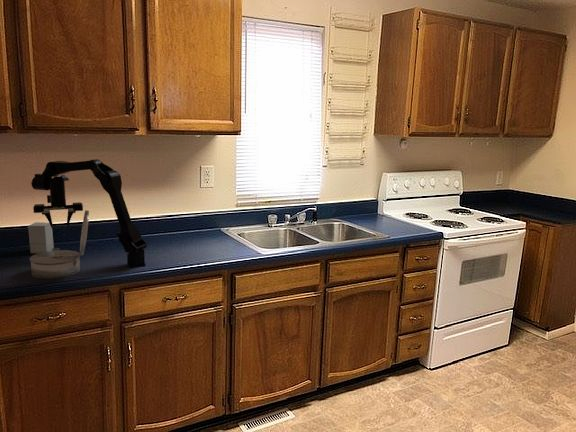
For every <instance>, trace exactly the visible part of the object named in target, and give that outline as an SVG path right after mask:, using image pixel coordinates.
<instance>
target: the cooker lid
mask: <svg viewBox="0 0 576 432" xmlns="http://www.w3.org/2000/svg"><path fill="white" fill-rule="evenodd" d="M82 219H83V220H82V225H81V234H80V241H79V242H80V244H79V253H80V256H84V254H85V251H86V250H85V249H86V245H87V238H88V232H89V231H88V229H89V220H90V211H89V210H85V211H84V213H83V218H82Z"/></svg>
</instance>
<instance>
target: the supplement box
mask: <svg viewBox="0 0 576 432" xmlns="http://www.w3.org/2000/svg"><path fill="white" fill-rule="evenodd" d="M27 228H28V237H29V238H28V239H29V250H30V251H29V252H30V254H38V253H42V252H48V251H52V248H55V245H54V235H53V228H51V225H50V223H49V222H39V221H38V222H37V221H36V222H33V223H32V224H31V223H30V224H29V225H27Z"/></svg>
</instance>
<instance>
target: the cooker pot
mask: <svg viewBox="0 0 576 432" xmlns="http://www.w3.org/2000/svg"><path fill="white" fill-rule="evenodd" d="M80 257H81V255H80V252H78V251H76V250H67V249H62V250H61V249H60V247H54V248H52V251H48V252H42V253H34V254H33V255H31V256H30V257H29V262H30V269H31V276H32V277H34V278H36V279H37V278H38V279H43V280H45V279H49V280H52V279H61V278H66V277H71V276H73V275H76V274H78V273H79V272H80V270H81V263H80V262H81V260H80Z"/></svg>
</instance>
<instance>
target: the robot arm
mask: <svg viewBox="0 0 576 432" xmlns="http://www.w3.org/2000/svg"><path fill="white" fill-rule="evenodd" d="M88 170H90V171H91V172H92V174H93V176H94V177H95V178H96V179H97V180H98V181H99V183H100V185H101V187H102V189H103V190H104V191H105V192H106V193H107V194H108V196H109V199H110V202H111V204H112V208H113V210H114V212H115V213H114V214H115V216H116V219H117V221H118V222H117V223H118V224H119V227H120V229H119V230H120V231H119V232H117V233H116V236H117V238H118V240H119V241H118V242H119V244H121V245H122V247H123V250H124V251H125V253H126V255H125V257H126V265H127V266H128V268H135V267H143V266H144V267H145V266H146V262H145V249H147V248H148V247H147V246H148V243H147V242H146V240H145V239H144V238H143V237H142V234H141V233H140V231H139V229H138V228H137V227H136V226H135V225H134V223H133V222H132V219H131V216H130V213H129V210H128V207H127V204H126V201H125V198H124V195H123V193H122V187H123V186H122V185H123V182H122V177H121V174H120V172H119V171H117V170H114V169H113V168H112V167H111V166H110V165H107V164H106V163H104V162H102V160H100V159H95V158H94V159H89V160H82V161H73V162H72V161H71V162H70V161H65V160H56V161H48V162H47V163H46V165H45V168H44V170H43V172H42V173H35V174H34V177H33V178H32V180H31V187H32V189H33V190H36V191H49V194H47V195H46V202H47V204H50V205H45V203H35V204H34V205H33V207H32V209H33V213H34V214H38V213H39V214H41V215H43V216H45V218H46V219H47V221H48V223H50V225H51V228H52V229H53V227H54V224H53V220H52V215H51V211H57V210H58V211H59V210H67V219H66V227H67V228H69V226H70V222H71V219H72V217H73V214H76V212H83V211H84V206H83V205H84V204H83V203H82V202H80V201H78V202H72V204H67V199H66V185H65V184H66V183H65V182H67V181H70V178H69V177H67V176H66V175H65V174H68V173H71V172H76V171H77V172H78V171H79V172H80V171H88Z"/></svg>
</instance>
